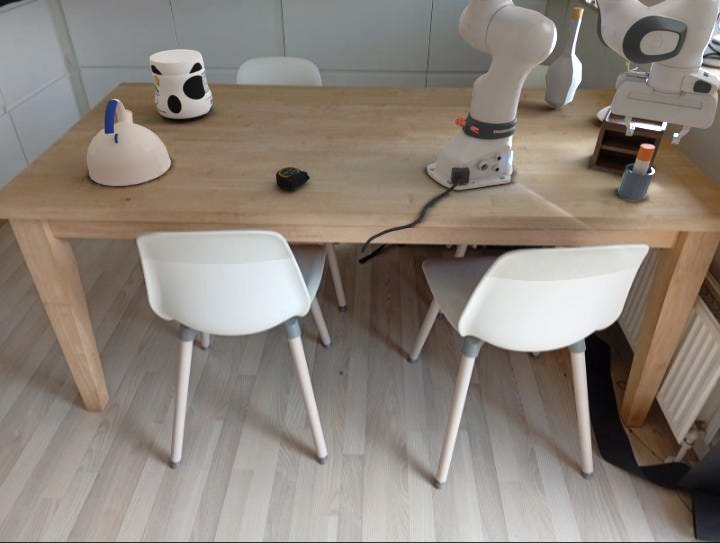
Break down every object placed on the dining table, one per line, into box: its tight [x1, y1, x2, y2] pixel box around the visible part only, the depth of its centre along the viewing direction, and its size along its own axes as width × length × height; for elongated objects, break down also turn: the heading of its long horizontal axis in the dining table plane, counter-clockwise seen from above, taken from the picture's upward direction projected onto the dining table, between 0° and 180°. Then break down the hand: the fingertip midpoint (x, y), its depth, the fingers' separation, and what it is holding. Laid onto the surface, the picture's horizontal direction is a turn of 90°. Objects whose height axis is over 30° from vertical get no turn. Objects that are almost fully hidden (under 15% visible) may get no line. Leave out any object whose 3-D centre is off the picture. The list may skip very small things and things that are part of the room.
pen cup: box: [617, 163, 656, 201], centre depth 127 cm, size 6×6×7 cm
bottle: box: [544, 6, 585, 110], centre depth 166 cm, size 11×11×30 cm
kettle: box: [86, 98, 172, 187], centre depth 135 cm, size 20×21×18 cm
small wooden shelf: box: [589, 108, 668, 174], centre depth 137 cm, size 9×14×13 cm, turn 61°
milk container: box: [148, 48, 214, 121], centre depth 166 cm, size 17×17×18 cm
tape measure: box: [275, 166, 310, 191], centre depth 132 cm, size 7×7×4 cm
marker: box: [632, 144, 655, 174], centre depth 125 cm, size 3×3×12 cm
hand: (651, 139), depth 120 cm, fingers open, 8 cm apart
